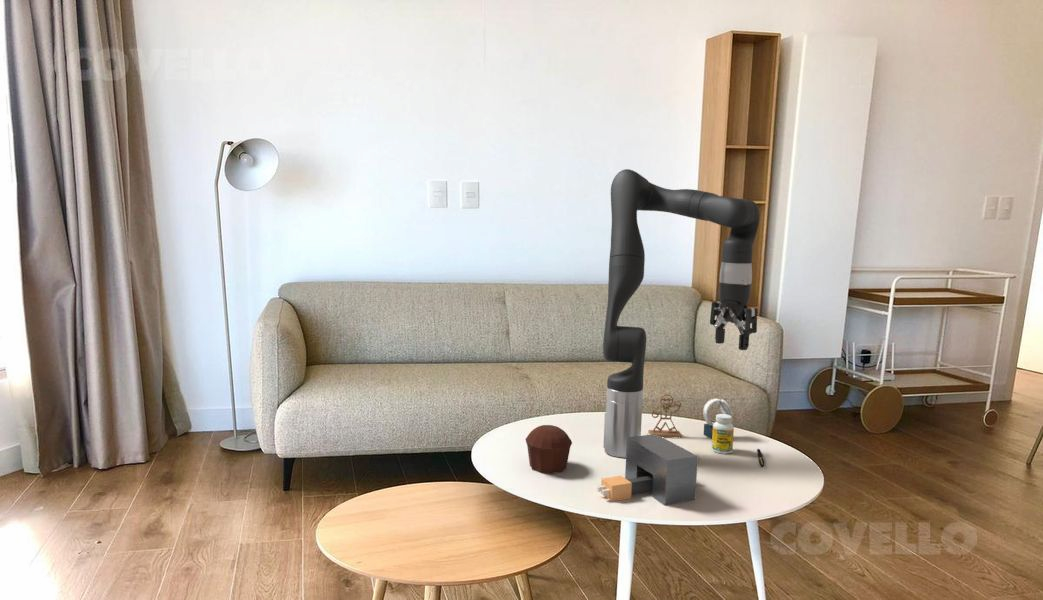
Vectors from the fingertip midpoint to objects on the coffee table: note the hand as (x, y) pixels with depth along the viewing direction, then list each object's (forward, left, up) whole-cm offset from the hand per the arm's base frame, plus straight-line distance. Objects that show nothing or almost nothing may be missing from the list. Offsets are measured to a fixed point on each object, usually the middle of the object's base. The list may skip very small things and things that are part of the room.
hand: (731, 346), depth 170 cm
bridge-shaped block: (+8, -25, -30) cm, 40 cm away
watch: (-18, +12, -30) cm, 37 cm away
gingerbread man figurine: (-24, -1, -30) cm, 39 cm away
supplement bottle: (-8, +6, -30) cm, 32 cm away
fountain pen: (0, +12, -31) cm, 33 cm away
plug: (+8, -28, -30) cm, 42 cm away
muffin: (-13, -43, -30) cm, 54 cm away
